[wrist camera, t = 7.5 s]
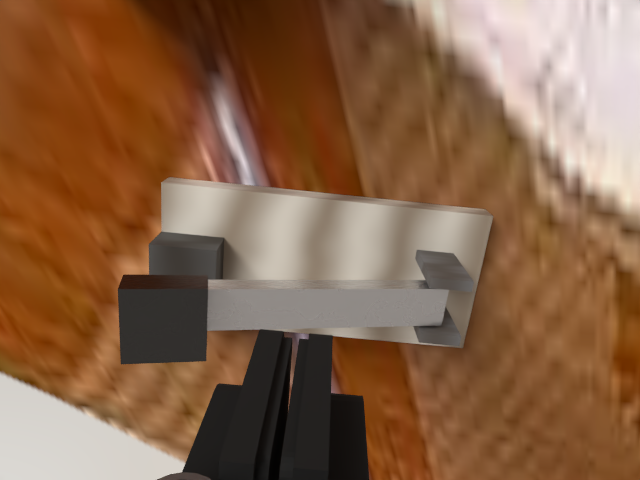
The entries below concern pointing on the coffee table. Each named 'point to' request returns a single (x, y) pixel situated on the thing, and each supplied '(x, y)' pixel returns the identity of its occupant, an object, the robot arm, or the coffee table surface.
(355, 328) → the base
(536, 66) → the coffee table surface
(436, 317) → the lever
